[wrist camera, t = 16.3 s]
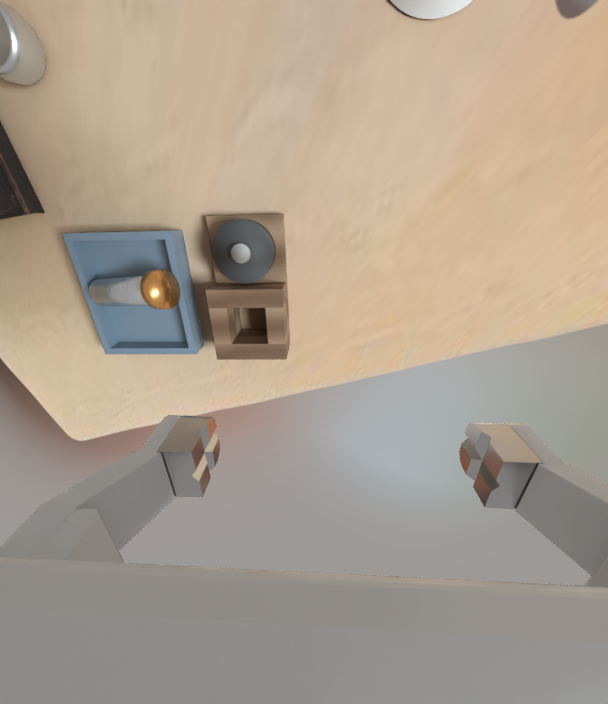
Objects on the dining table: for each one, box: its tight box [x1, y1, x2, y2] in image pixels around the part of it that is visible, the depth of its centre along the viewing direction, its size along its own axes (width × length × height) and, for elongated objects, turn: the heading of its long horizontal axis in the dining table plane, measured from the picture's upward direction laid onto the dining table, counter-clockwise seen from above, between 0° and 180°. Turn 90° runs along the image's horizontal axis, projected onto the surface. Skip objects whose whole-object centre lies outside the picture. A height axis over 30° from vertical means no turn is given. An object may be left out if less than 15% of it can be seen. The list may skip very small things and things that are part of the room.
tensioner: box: [205, 214, 290, 359], centre depth 40 cm, size 19×10×6 cm, turn 1°
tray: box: [62, 230, 204, 354], centre depth 43 cm, size 18×15×4 cm
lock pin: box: [89, 269, 180, 309], centre depth 40 cm, size 5×5×12 cm
